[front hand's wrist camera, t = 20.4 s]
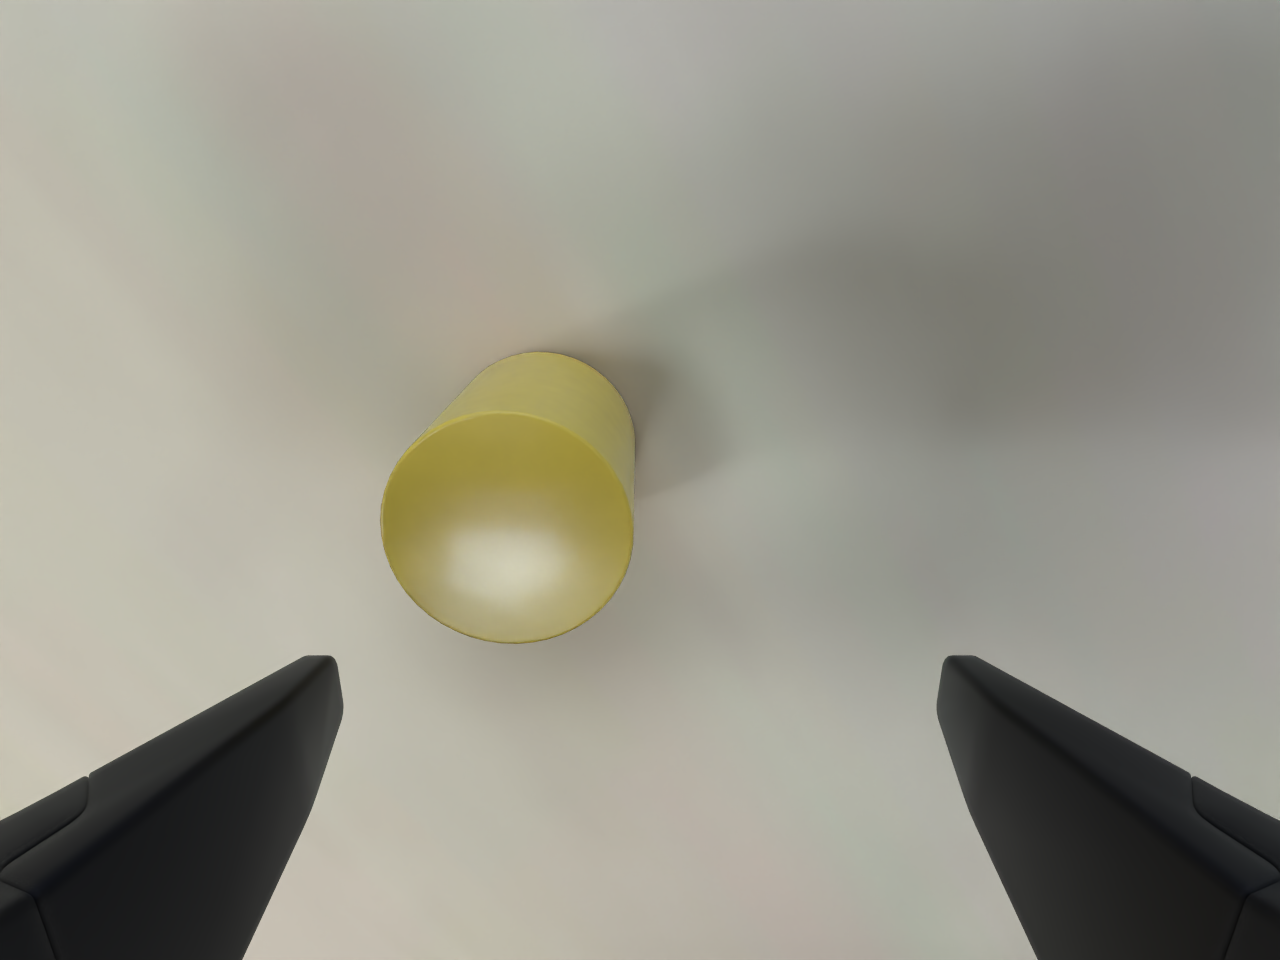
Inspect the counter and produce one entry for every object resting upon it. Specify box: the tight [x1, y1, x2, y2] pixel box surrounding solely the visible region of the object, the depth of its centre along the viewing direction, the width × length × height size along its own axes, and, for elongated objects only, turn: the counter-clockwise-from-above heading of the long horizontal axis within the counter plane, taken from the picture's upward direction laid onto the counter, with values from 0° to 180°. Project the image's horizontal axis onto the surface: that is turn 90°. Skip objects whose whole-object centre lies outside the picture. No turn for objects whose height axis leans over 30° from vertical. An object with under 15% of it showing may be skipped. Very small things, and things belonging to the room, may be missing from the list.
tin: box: [380, 352, 635, 644], centre depth 14 cm, size 4×4×5 cm
